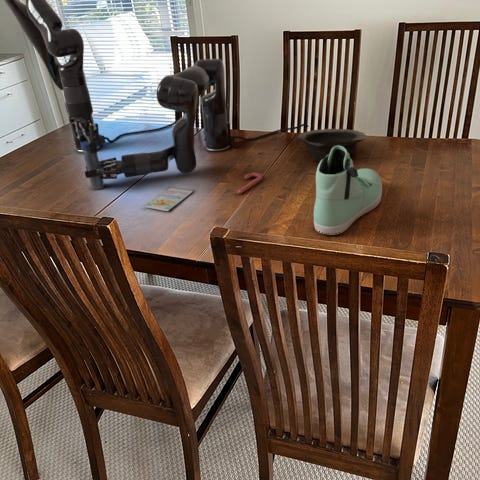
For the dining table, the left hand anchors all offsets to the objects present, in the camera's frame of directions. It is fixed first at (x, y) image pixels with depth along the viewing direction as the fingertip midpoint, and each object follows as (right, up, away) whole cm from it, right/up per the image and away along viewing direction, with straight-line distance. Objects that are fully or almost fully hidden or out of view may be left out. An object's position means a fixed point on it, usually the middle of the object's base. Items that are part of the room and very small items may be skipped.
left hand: (89, 151), depth 158 cm
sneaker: (+81, -20, -19) cm, 85 cm away
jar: (+1, -11, +7) cm, 13 cm away
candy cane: (+52, -11, -1) cm, 53 cm away
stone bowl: (+83, +2, +17) cm, 84 cm away
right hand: (-2, -6, +3) cm, 7 cm away
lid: (0, +2, -1) cm, 3 cm away
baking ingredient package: (+27, -17, -6) cm, 32 cm away
